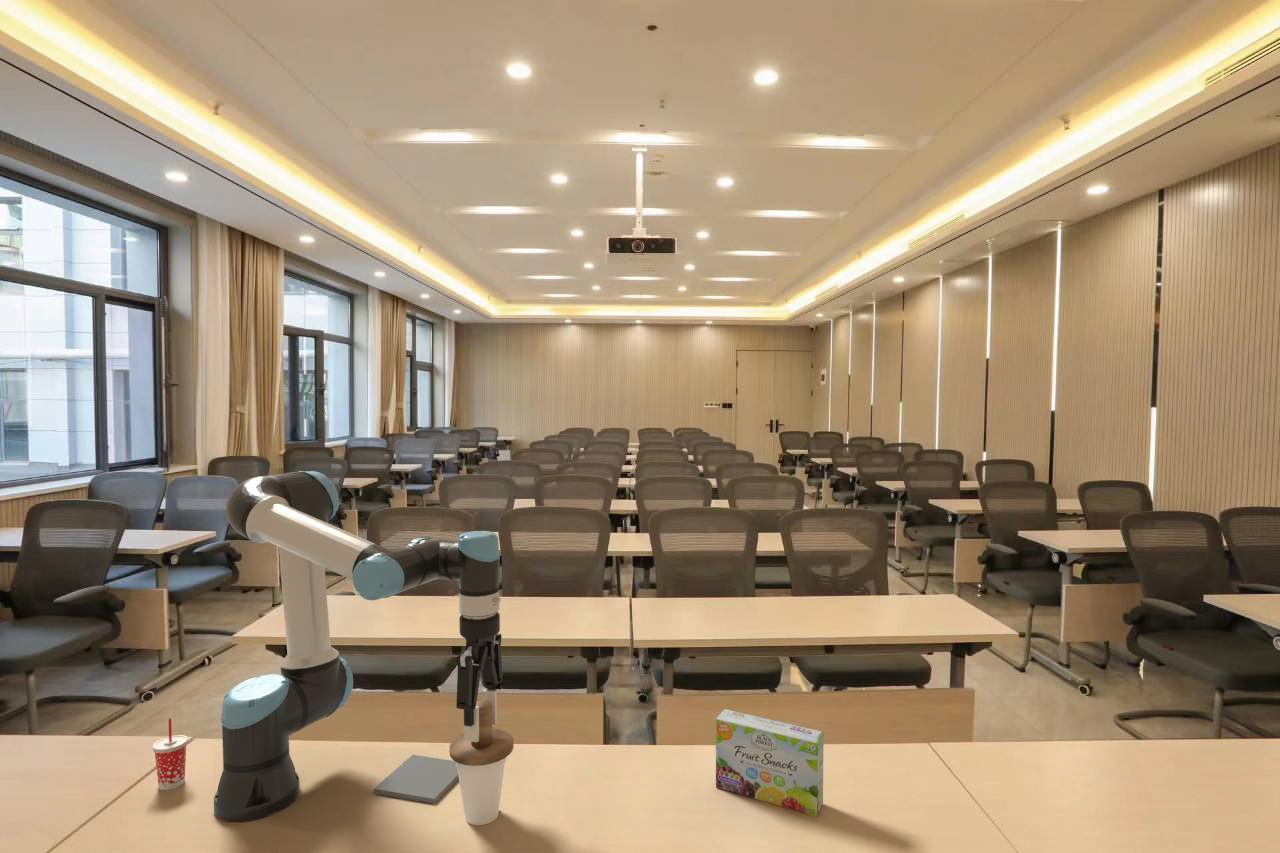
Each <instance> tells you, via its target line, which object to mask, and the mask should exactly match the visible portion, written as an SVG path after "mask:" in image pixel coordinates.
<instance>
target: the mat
mask: <svg viewBox="0 0 1280 853" xmlns="http://www.w3.org/2000/svg"><path fill="white" fill-rule="evenodd" d="M402 765H403V766H402ZM457 781H459V775H458V768H457V767H456V762H455V761H454V760H453V759H451V760H450V759H445V758H444V759H443V758H437V757H432V756H423V755H417V754H412V755H411V756H409V757H408V758H407V759H406V760H405V761H404V762H402V764H400V765H399V766H398V767H397V768H395V769H394V770H393V771H392V772H391V773H389V775H388V776H386V777H384V779H383V780H382V781H380V782H379V783H378V784H377V785H376V786H374V787H373V789H372V790H373V791H372V792H373V793H372V794H373V795H374V794H375V795H379V796H380V795H382V796H387V797H394V798H398V799H404V800H409V801H410V800H411V801H417V802H421V803H428V804H436V803H437V801H439V799H440V798H442V796H443V795H444V794H445V793H447V791H448V790H449V789H450V788H452V786H453V785H454V784H455V783H456V782H457Z"/></svg>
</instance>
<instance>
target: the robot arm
mask: <svg viewBox="0 0 1280 853" xmlns="http://www.w3.org/2000/svg"><path fill="white" fill-rule="evenodd" d="M339 500H340V499H339V493H338V490H337V488H336V486H335V484H334V482H332V480H330V479H329V478H328V477H327V476H326V475H325V474H323V473H322V472H320V471H319V472H318V471H314V470H311V471H308V470H307V471H305V470H304V471H303V470H299V471H294V472H293V471H292V472H286V473H285V472H284V473H279V474H278V473H277V474H271V475H261V476H254V477H251V478H248V479H246V480H244V481H242V482H241V483H239V484H238V485H237V486H235V488H234V489H233V490H232V491H231V493H230V494H229V496H228V499H227V501H226V505H225V514H226V518H227V521H228V524H230V526H231V527H232V529H233V530H234V531H235V532H236V533H238V534H239V535H241V536H242V537H244V538H246V539H247V540H250V541H252V542H254V543H257V544H267V543H270V544H272V545H274V546H276V547H278V552H279V554H278V555H279V566H280V578H281V579H280V580H281V589H282V593H281V594H282V602H283V603H282V605H283V614H284V625H285V626H284V627H285V637H286V638H285V640H286V651H287V654H286V656H285V657H284V658H283V660H282V661H281V662H280V665H279V666H280V674H277V673H269V674H262V675H260V676H258V677H256V676H254V677H251V678H249V679H246V680H243V681H242V682H240V683H237V684H235V686H233V687H231V689H230V690H229V691H228V692H227V693H226V694H225V696H224V698H223V700H222V705H221V715H220V716H221V717H220V723H221V725H222V727H221V729H222V730H221V731H222V737H221V738H222V760H223V762H222V764H223V765H222V766H223V767H222V773H221V775H220V779H219V782H218V786H217V790H216V792H215V794H214V798H213V813H214V815H215V817H217V818H218V819H220V820H222V821H226V822H233V823H234V822H235V823H238V822H249V821H253V820H254V821H255V820H259V819H261V818H265V817H268V816H271V815H273V814H276V813H278V812H280V811H282V810H284V809H285V808H286V807H288V806H289V805H291V804H292V803H293V802H294V801H295V800H296V799H297V798H298V796H299V794H300V790H301V789H300V788H301V786H300V776H299V774H298V772H296V768H295V765H294V762H293V760H292V758H291V755H290V736H291V735H293V734H295V733H297V732H298V731H300V730H303V729H304V728H306V727H307V728H308V726H310V725H312V724H314V723H316V722H318V721H321V720H322V719H325V718H327V717H329V716H331V715H332V714H334V713H335V712H337V711H338V710H339V709H342V707H344V706H345V704H347V703H348V701H349V700H350V697H351V695H352V692H353V688H354V678H353V677H354V676H353V672H352V669H351V667H350V666H348V665H349V664H348V661H346V660H345V659H344V658H343V657H341V656H340V653H339V651H338V650H337V649H335V648H334V647H333V646H332V645H331V634H330V633H331V632H330V621H329V620H330V619H329V609H328V607H329V606H328V595H327V583H326V569H327V570H328V571H329V570H330V571H331V572H333V573H336V574H338V575H340V576H342V577H345V578H346V579H349V580H351V581H352V584H353V587H354V589H355V591H356V592H358V594H359V596H360V597H361V598H363V599H364V600H366V601H367V600H368V601H377V600H381V599H388V598H391V597H393V596H395V595H397V594H400V593H402V592H405V591H407V590H410V589H413V588H415V587H418V586H422V585H424V584H427V583H429V582H432V581H436V580H447V581H455V582H457V581H458V590H459V591H458V592H459V594H458V595H459V597H458V598H459V601H458V602H459V603H458V605H459V608H458V613H459V614H460V616H459V634H460V636H461V637H463V638H464V639H465V641H466V642H465V647H464V653H463V654H458V655H456V666H457V679H456V702H455V703H456V709H458V710H463V733H464V741H471V742H478V741H479V706H476V703H477V701H478V695H479V694H478V693H479V687H480V681H481V680H480V679H481V676H482V679H483V680H482V681H483V685H484V689H482V692H481V694H482V701H490V702H491V703H492V725H497V723H498V706H497V705H498V704H497V703H498V697H497V696H498V694H497V690H502V688H503V684H502V682H503V667H502V666H503V662H502V639H503V638H502V637H503V636H502V633H500V630H501V622H500V621H501V618H500V617H501V616H500V615H501V614H500V612H499V611H500V603H501V601H502V600H501V597H500V557H501V553H500V549H499V548H500V547H499V537H498V535H497V534H496V533H494V532H492V531H488V530H481V531H480V530H473V531H466V532H463V533H461V534H460V535H459V536H458V540H452V539H439V538H436V537H435V538H434V537H418V538H413V539H412V540H410V542H409V543H408V544H406V545H405V547H402V548H399V549H395V550H394V549H389V548H387V547H384V546H382V545H379V544H377V543H374V542H372V541H370V540H368V539H365V538H363V537H361V536H358V535H356V534H354V533H352V532H349V531H347V530H344V529H342V528H340V527H337V526H335V525H333V524H331V523H329V521H330V520H332V519H333V518H334V517H335V515H336V514H337V511H338V509H339V504H340V501H339ZM500 683H501V684H500Z"/></svg>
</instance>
